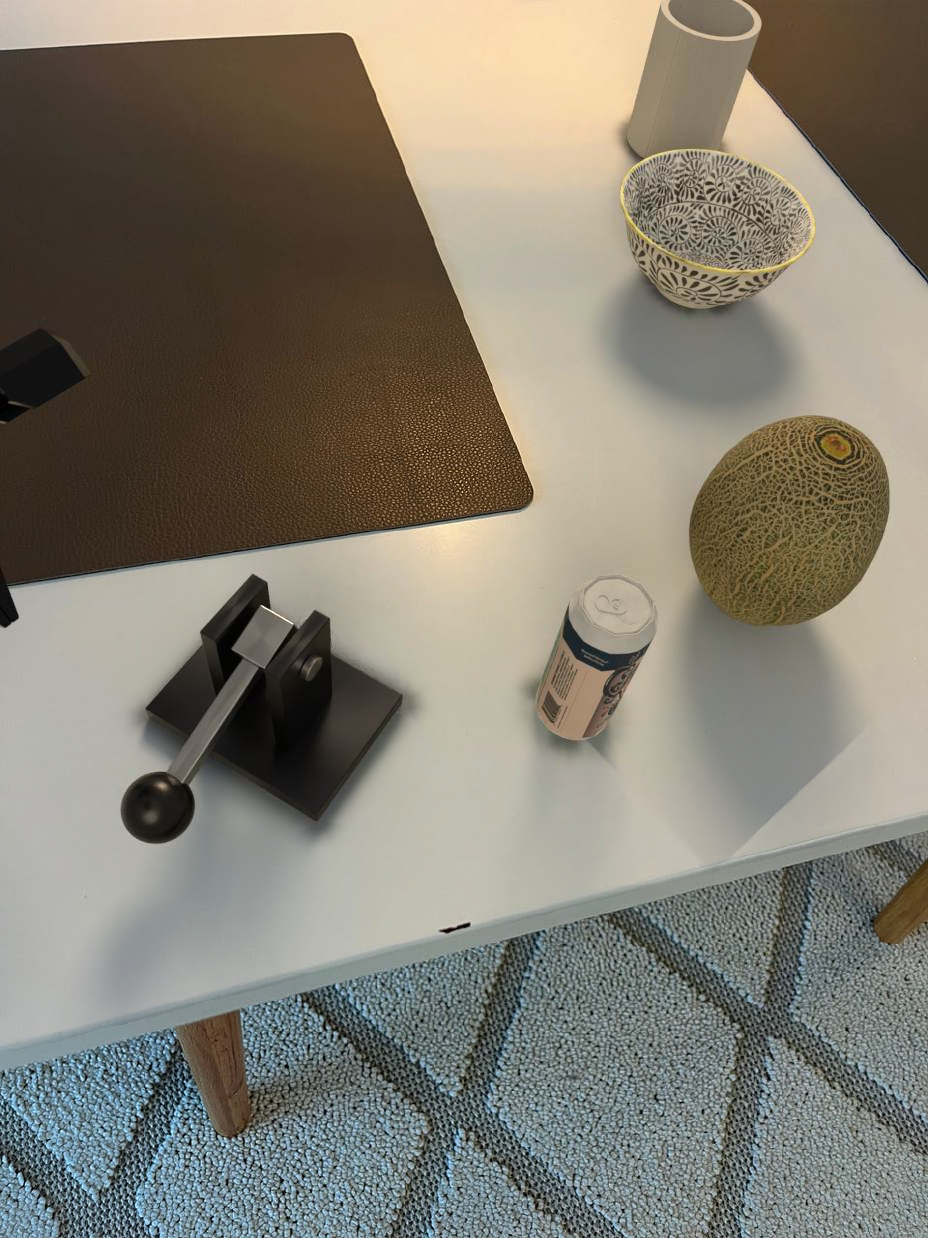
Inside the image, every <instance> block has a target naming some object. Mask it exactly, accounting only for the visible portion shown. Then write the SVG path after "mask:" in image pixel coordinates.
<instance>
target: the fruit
mask: <svg viewBox="0 0 928 1238" xmlns="http://www.w3.org/2000/svg"><path fill="white" fill-rule="evenodd" d="M890 492H891V491H890V480H889V474H888V469H887V466H886V463H885V461H884V459H883V456H882V454H881V452H880V451H879V449H878V448H877V446H876V445H875V444H874V443H873V441H872V440H871V439H870V438H869V437H868V436H866V434H865V433H864V432H863V431H861V430H859V429H858V428H857V427H854V426H853V425H851V424H849V423H847V422H845V421H843V420H841V419H838V418H835V417H830V416H824V415H814V414H806V415H799V416H793V417H789V418H783V419H780V420H777V421H774V422H771V423H769V424H766V425H764V426H762V427H760V428H758V429H757V430H754V431H752V432H751V433H749V434H747V435H746V436H745V437H743V438H742V439H741V440H739V442H737V443H736V444H735V445H734V446H732V447H731V448H730V449H728V451H726V453H724V455H723V456H722V457H721V459H720V460H719V461H718V463H717V464H715V466H714V468H713V469H712V470H711V472H710V473H709V475H708V476H707V477H706V479H705V481H704V482H703V484H702V485H701V488H700V489H699V491H698V493H697V495H696V497H695V500H694V503H693V506H692V509H691V514H690V518H689V528H688V542H689V543H688V544H689V552H690V557H691V561H692V563H693V564H692V565H693V568H694V572H695V575H696V576H697V579H698V581H699V583H700V585H701V587H702V588H703V591H704V592H705V593H706V595H707V596H708V598H709V599H710V600H711V602H713V604H714V605H715V606H716V607H717V608H718V609H719V610H720V611H722V612H723V613H724V614H726V615H727V616H728V617H730V618H733V619H735V620H737V621H740V622H742V623H745V624H747V625H751V626H756V627H783V626H784V627H785V626H793V625H798V624H802V623H805V622H807V621H810V620H813V619H816V618H817V617H820V616H821V615H823V614H825V613H827V612H828V611H830V610H832V609H834V608H835V607H837V606H838V605H839V604H841V603H842V602H843V601H844V600H845V599H846V598H847V597H848V596H849V595H850V594H851V593H852V592H853V591H854V589H856V587H857V586H858V585H859V584H860V583H861V582H862V580H863V578H864V577H865V575H866V573H867V571H868V569H869V568H870V566H871V564H872V562H873V560H874V558H875V557H876V555H877V552H878V550H879V547H880V545H881V543H882V540H883V537H884V535H885V532H886V527H887V524H888V520H889V514H890V505H891V503H890V502H891V501H890V495H891V494H890Z"/></svg>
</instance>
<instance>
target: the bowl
mask: <svg viewBox="0 0 928 1238" xmlns="http://www.w3.org/2000/svg"><path fill="white" fill-rule="evenodd" d="M619 200H620V206H621V210H622V212H623V215H624V219H625V226H626V234H627V240H628V245H629V248H630V252H631V254H632V256H633V258H634V261H635V263H636V264H637V266H638V268H639V270H640V271H641V272H642V274H643V275H644V276H645V277H646V278H647V280H649V281H650V282H651V283H652V284H653V285H654V286H655V287H656V289H657V290H658V292H659V293H660V294H661V295H662V296H664V297H665V298H666V299H668V300H669V301H671V302H672V303H675V304H676V305H679V306H682V307H686V308H690V309H699V310H701V309H710V308H711V309H712V308H715V307H717V306H724V305H730V304H735V303H739V302H742V301H745V300H746V299H749V298H752V297H754V296H755V295H757V294H759V293H760V292H762V291H764V290H765V289H766V288H768V287H769V286H771V285H772V283H774V282H775V281H776V280H777V279H778V278H779V277H780V276H781V275H782V274H783V273H784V272H785V271H786V270H788V268H789V267H790V266H791V265H792V264H795V262H797V261H798V260H799V259H801V258H802V257H803V256H804V255H805V254H806V253H807V252H808V251H809V249H810V248H811V246H812V244H813V242H814V240H815V235H816V221H815V217H814V213H813V212H812V209H811V207H810V205H809V203H808V201H807V200H806V199H805V197H804V196H803V195H802V194H801V193H800V192H799V191H798V190H797V188H796V187H794V185H792V184H791V183H790V182H789V181H787V179H785V178H784V177H782V176H781V175H779V174H778V173H776V172H775V171H773V170H771V169H769V168H768V167H766V166H764V165H763V164H759V163H757V162H755V161H753V160H751V159H748V158H745V157H742V156H738V155H735V154H733V153H732V154H731V153H727V152H722V151H719V150H718V151H713V150H705V149H679V150H673V151H667V152H663V153H659V154H656V155H653V156H651V157H648V158H646V159H644V158H643V159H642V160H641V161H639V162H637V163H636V164H634V165H633V166H632V167H631V169H629V170H628V171H627V173H626V174H625V176H624V178H623V179H622V182H621V186H620V191H619Z"/></svg>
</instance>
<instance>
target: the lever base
mask: <svg viewBox="0 0 928 1238" xmlns="http://www.w3.org/2000/svg"><path fill="white" fill-rule="evenodd" d="M268 583H269V582H268V581H266V580H265V579H263V578H262V577H260V576H258V575H256V574H255V573H251V575H250V576H249V577H248V578H247V579H246V580H245V581H244V582H243V583H242V584H241V586H240V587H239V588H238V589H237V590H236V591H235V592H234V593H233V595H231V597H230V598H229V599H228V600H227V601H226V602H225V603H224V604H223V605H222V607H221V608H219V610H218V611H217V612H216V613H215V614H214V615H213V616H212V618H211V619H210V620H209V621H208V622H207V623H206V624H205V625H204V626H203V628H201V629H200V630H199V634H200V635H199V636H200V638H201V642H202V644H201V645H200V646H199V648H198V649H197V650H196V651H195V652H194V653H193V654H192V655H191V657H189V659H188V660H187V661H186V662H185V663H184V664H183V665H182V667H181V668H180V669H179V670H178V671H177V672H176V673H175V674H174V675H173V676H172V678H171V679H170V680H169V681H168V682H167V683H166V684H165V685H164V687H163V688H162V689H161V690H160V691H159V692H158V693H157V694H156V695H155V697H153V699H152V700H151V701H150V702H149V704H148V705H146V706H145V708H144V709H145V712H146V714H147V717H148V718H149V719H151V720H152V721H154V722H155V723H157V724H158V725H161V727H164V728H165V729H167V730H168V731H170V732H171V733H173V734H175V735H177V736H178V737H180V738H181V739H182V740H184V741H185V742H187V740H188V739H189V737H190V736H191V734H192V733H193V731H194V730H195V728H196V727H197V725H198V724H199V722H200V721H201V719H202V718H203V716H204V715H205V713H206V712H207V710H208V709H209V707H210V706H211V704H212V703H213V701H214V700H215V698H216V697H217V695H218V694H219V692H220V691H221V689H222V688H223V687H224V685H225V684H226V682H227V681H228V679H229V678H230V676H231V675H232V673H233V672H234V670H235V669H236V667H237V666H238V664H239V663H240V661H241V660H242V659H241V658H240V657H239V656H238V655H237V654H236V653H235V652H234V651H233V650H232V649H231V648H232V646H233V645H234V643H235V642H236V640H237V639H238V637H239V636H240V634H241V633H242V631H243V630H244V628H245V627H246V625H247V624H248V623H249V621H250V620H251V618H252V617H253V615H254V614H255V612H256V611H257V609H258V608H259V606H260V605H263V606H264V607H266V608H268V609H270V610H271V611H272V607H271V599H270V590H269V584H268ZM331 630H332V629H331V617H329V616H328V615H326V614H324V613H322V612H321V611H319V610H317V609H314V610H313V611H312V612H311V613H310V615H309V616H308V617H307V619H306V620H305V621H304V622H303V623H302V624H301V625H300V627H299V628H298V630H297V632H296V633H295V634H294V635H293V636H292V638H291V639H290V640H289V641H288V642H287V644H286V645H285V646H284V647H283V648H282V650H281V651H280V652H279V653H278V654H277V655H276V657H275V658H274V659H273V660H272V661H271V663H270V664H269V665H268V666H267V667H266V669H265V673H264V672H263V674H262V675H261V677H260V678H259V680H258V681H257V683H256V684H255V686H254V687H253V689H252V690H251V692H250V693H249V695H248V697H247V698H246V700H245V701H244V703H243V704H242V706H241V707H240V709H239V710H238V712H237V713H236V715H235V716H234V718H233V719H232V721H231V722H230V724H229V725H228V727H227V728H226V730H225V731H224V733H223V734H222V736H221V737H220V739H219V740H218V742H217V743H216V745H215V746H214V748H213V749H212V751H211V752H210V754H209V755H208V756H210V757H212V758H213V759H215V760H216V761H218V762H219V763H221V764H223V765H224V766H225V767H228V768H229V769H230V770H233V771H234V772H235V773H237V774H238V775H240V776H242V777H244V778H245V779H247V780H248V781H250V782H252V784H253V783H254V784H255V785H257V786H258V787H260V788H261V789H263V791H266V792H268V793H269V794H271V795H273V796H275V797H276V798H277V799H279V800H280V801H282V802H283V803H285V804H286V805H288V806H290V807H292V808H293V809H295V810H297V811H298V812H299V813H301V814H302V815H304V816H306V817H308V818H310V819H311V820H313V821H314V822H316V823H317V822H318V821H319V820H320V818H321V817H323V814H324V813H325V811H326V810H327V809H328V808H329V806H330V804H331V803H332V802H333V800H334V799H335V798H336V796H337V795H338V793H339V792H340V791H341V789H342V788H343V786H344V785H345V784H346V782H347V781H348V780H349V778H350V777H351V775H352V774H353V772H354V771H355V770H356V768H357V767H358V766H359V764H360V763H361V761H362V760H363V758H365V756H366V755H367V753H368V752H369V750H370V749H371V748H372V746H373V745H374V743H375V742H376V741H377V739H378V738H379V736H380V735H381V734H382V732H383V731H384V730H385V728H386V726H387V725H388V723H389V722H390V721H391V719H392V718H393V717H394V716H395V714H396V713H397V711H398V710H399V708H400V707H401V706H402V704H403V693H400V692H399V691H398V690H395V689H394V688H392V687H390V686H388V685H387V684H385V683H383V682H382V681H380V680H378V679H376V678H375V677H373V676H372V675H369V674H368V673H366V672H364V671H363V670H361V669H360V668H358V667H356V666H354V665H352V664H350V663H349V662H347V661H345V660H344V659H342V658H340V657H338V656H337V655H335V654H333V653H332V636H331V635H332V633H331V632H332V631H331Z"/></svg>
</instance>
